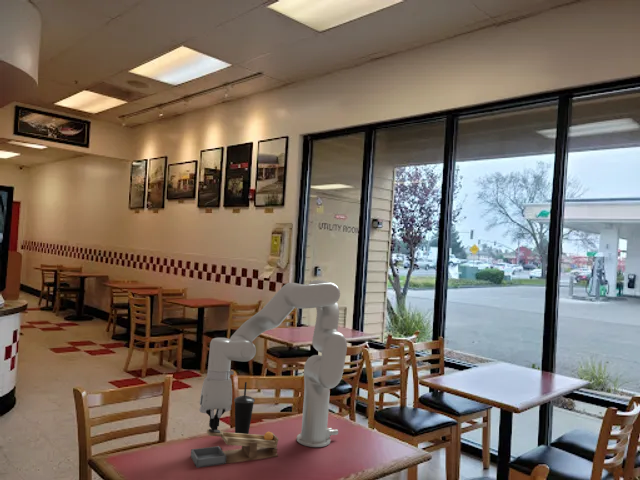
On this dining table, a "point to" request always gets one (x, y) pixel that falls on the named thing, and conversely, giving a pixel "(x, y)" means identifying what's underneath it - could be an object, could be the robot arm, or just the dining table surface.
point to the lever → (244, 439)
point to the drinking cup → (243, 412)
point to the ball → (268, 436)
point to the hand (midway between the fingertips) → (213, 428)
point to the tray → (208, 456)
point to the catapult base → (250, 453)
